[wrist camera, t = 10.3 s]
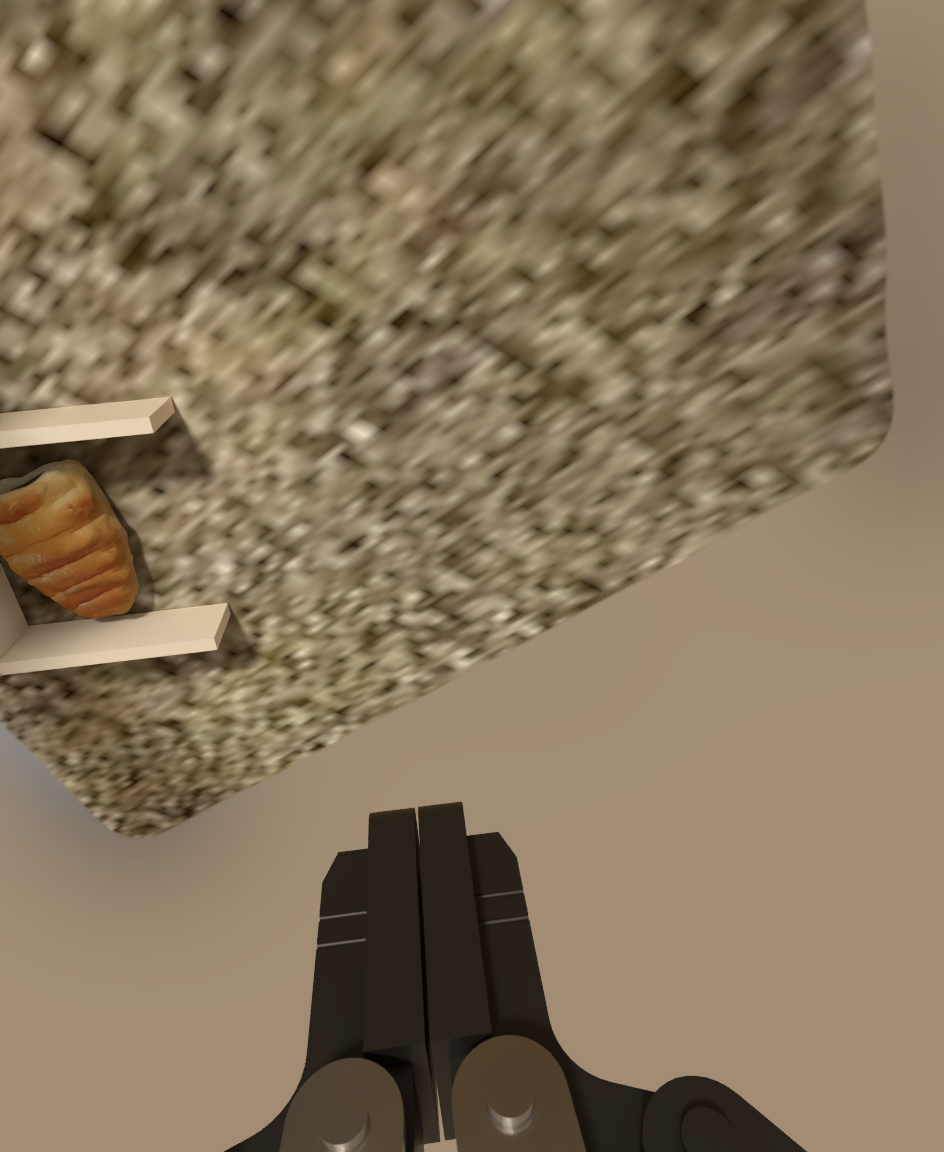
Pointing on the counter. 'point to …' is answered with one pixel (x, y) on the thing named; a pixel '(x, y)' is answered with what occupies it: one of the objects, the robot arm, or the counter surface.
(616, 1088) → the robot arm
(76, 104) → the counter surface
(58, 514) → the pastry
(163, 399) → the bin
